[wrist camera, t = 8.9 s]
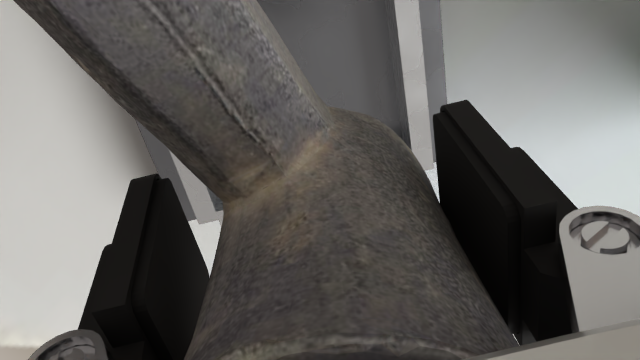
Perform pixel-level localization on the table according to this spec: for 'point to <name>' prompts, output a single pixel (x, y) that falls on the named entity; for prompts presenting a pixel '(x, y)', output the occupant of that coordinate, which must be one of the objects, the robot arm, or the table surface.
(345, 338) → the pipe
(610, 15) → the table surface
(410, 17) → the cradle
